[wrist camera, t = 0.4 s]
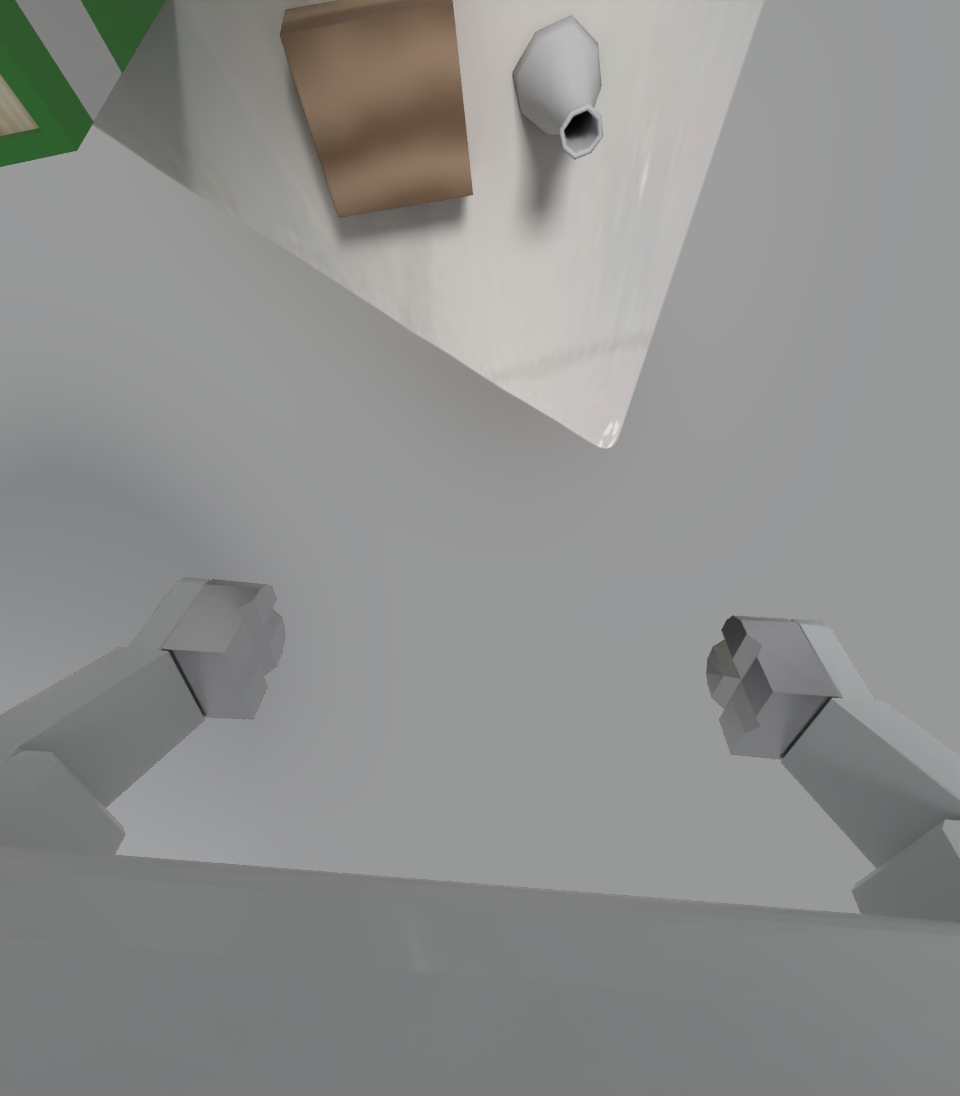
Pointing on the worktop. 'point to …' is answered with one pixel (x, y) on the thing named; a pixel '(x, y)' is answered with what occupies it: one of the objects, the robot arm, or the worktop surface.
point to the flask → (562, 85)
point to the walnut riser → (382, 100)
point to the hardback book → (61, 69)
